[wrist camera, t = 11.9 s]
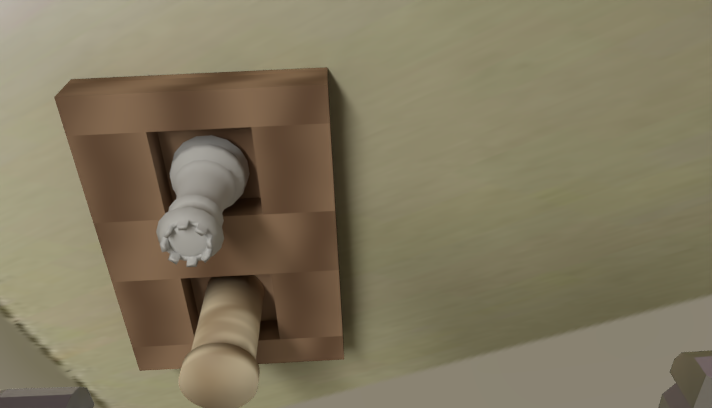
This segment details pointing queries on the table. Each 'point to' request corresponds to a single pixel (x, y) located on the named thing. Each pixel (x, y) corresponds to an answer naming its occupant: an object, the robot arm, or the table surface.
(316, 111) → the pallet board
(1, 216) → the table surface
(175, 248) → the rook chess piece
